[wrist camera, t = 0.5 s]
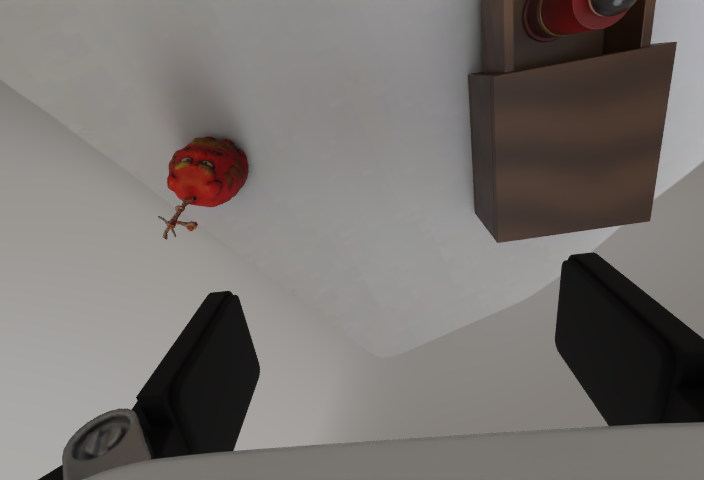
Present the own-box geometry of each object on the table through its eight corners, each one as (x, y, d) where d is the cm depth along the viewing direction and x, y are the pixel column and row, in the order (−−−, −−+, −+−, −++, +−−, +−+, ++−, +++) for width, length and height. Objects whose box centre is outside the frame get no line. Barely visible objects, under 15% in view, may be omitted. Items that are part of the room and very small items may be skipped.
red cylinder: (521, -14, 35) (592, -52, 24) (578, -26, 34) (677, -70, 23) (521, 46, 37) (586, 37, 26) (575, 36, 36) (664, 21, 25)
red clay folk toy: (252, 137, 43) (198, 169, 29) (254, 197, 46) (206, 251, 32) (185, 132, 43) (100, 161, 29) (191, 191, 46) (117, 243, 32)
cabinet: (467, 74, 40) (493, 76, 32) (613, 47, 38) (677, 41, 30) (474, 213, 46) (497, 243, 38) (600, 194, 44) (650, 221, 36)
